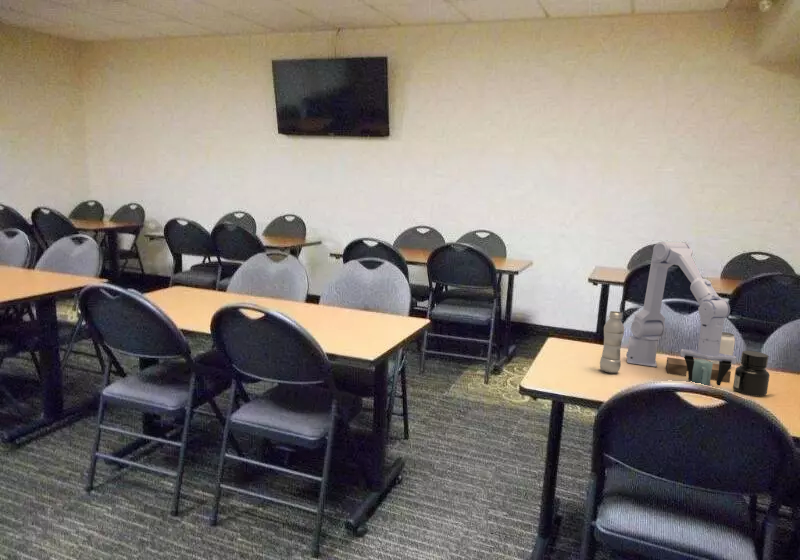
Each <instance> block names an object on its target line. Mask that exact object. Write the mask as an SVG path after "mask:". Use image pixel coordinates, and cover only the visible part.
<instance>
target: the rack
mask: <svg viewBox="0 0 800 560" xmlns="http://www.w3.org/2000/svg"><path fill="white" fill-rule="evenodd" d="M665 369H666V373H667V374H668V375H675V376H683V377H687V374H688V369H687V364H686V361H685V358H684V359H682V358H677V357H666V363H665ZM718 372H719V364H713V365H712V373H711V380H710V381H716V382H717V377H718ZM730 380H731V369H729V370H728V371H727V373H726V374H725V376H724V377H723V379H722V382H723V383H730ZM722 382H721V383H722Z"/></svg>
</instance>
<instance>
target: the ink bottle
mask: <svg viewBox="0 0 800 560" xmlns="http://www.w3.org/2000/svg"><path fill="white" fill-rule="evenodd" d="M768 363H769V355H768V354H767V353H763V352H759V351H752V350H743V351H742V352H741V358H740V365H739V366H737V367H736V368H735V369H734V370H735V372H734V378H733V386H732V388H733V390H734V391H736V392H738V393H741V394H745V395H748V396H752V397H764V396H766V395H768V394H767V393H768V390H769V382H770V372H769V371H768V370H767V369H766V368H767V366H768Z"/></svg>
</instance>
